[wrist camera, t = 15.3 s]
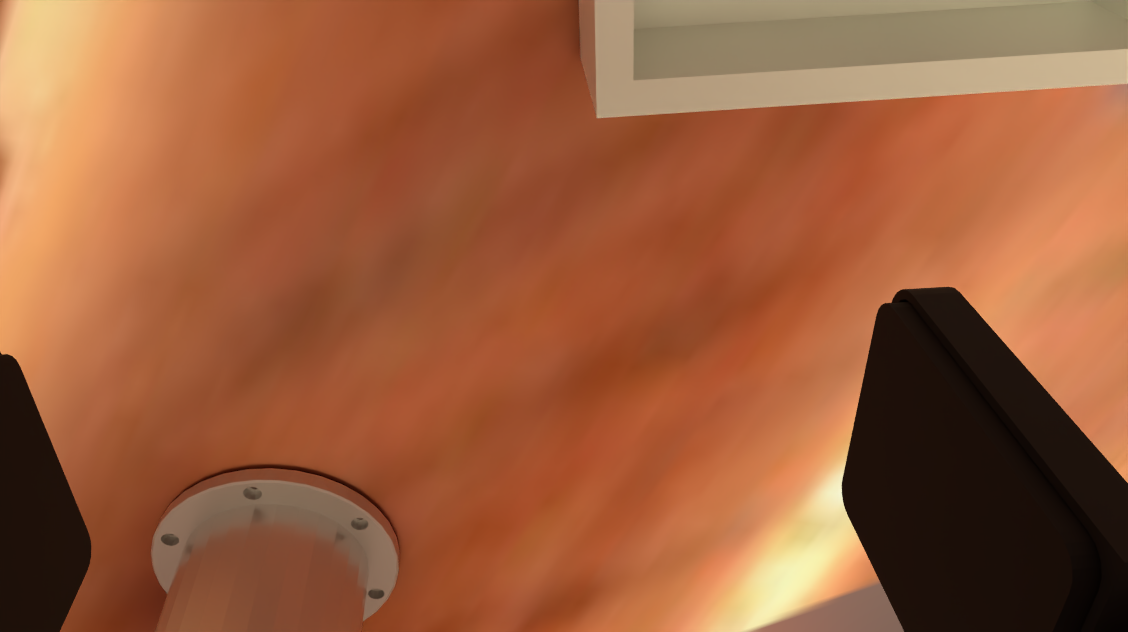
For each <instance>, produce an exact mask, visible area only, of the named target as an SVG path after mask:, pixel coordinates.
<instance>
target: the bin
mask: <svg viewBox="0 0 1128 632" xmlns="http://www.w3.org/2000/svg"><path fill="white" fill-rule="evenodd" d="M579 32H580V58H581V62H582V66H583V69H584V73H585V77H586V80H587V84H588V88H589V91H590V95H591V99H592V103H593V106H594V110H595V114H596V117H597V118H608V117H623V116H639V115H654V114H669V113H685V112H700V111H715V110H731V109H746V108H761V107H777V106H792V105H807V104H823V103H838V102H853V101H869V100H884V99H899V98H915V97H930V96H945V95H961V94H976V93H991V92H1007V91H1022V90H1037V89H1053V88H1068V87H1083V86H1099V85H1114V84H1128V0H579Z"/></svg>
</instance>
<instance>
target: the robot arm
mask: <svg viewBox="0 0 1128 632" xmlns="http://www.w3.org/2000/svg"><path fill="white" fill-rule="evenodd" d="M842 496H843V502H844V506H845V509H846V512H847V515H848V517H849V519H850V521H851V523H852V525H853V527H854V529H855V531H856V533H857V535H858V537H859V539H860V541H861V543H862V545H863V547H864V550H865V552H866V554H867V556H868V558H869V560H870V562H871V564H872V566H873V568H874V570H875V572H876V574H877V576H878V578H879V580H880V582H881V584H882V586H883V589H884V591H885V593H886V595H887V597H888V599H889V601H890V603H891V605H892V607H893V609H894V611H895V613H896V615H897V617H898V619H899V621H900V623H901V625H902V627H903V629H904V632H1128V483H1127V482H1126V481H1125V480H1124V478H1123V477H1122V476H1121V475H1120V474H1119V473H1118V472H1117V470H1116V469H1115V468H1114V467H1113V466H1112V465H1111V464H1110V463H1109V461H1108V460H1107V459H1106V458H1105V457H1104V456H1103V455H1102V453H1101V452H1100V451H1099V450H1098V449H1097V448H1096V447H1095V445H1094V444H1093V443H1092V442H1091V441H1090V440H1089V439H1088V438H1087V436H1086V435H1085V434H1084V433H1083V432H1082V431H1081V430H1080V428H1079V427H1078V426H1077V425H1076V424H1075V423H1074V422H1073V421H1072V419H1071V418H1070V417H1069V416H1068V415H1067V414H1066V413H1065V411H1064V410H1063V409H1062V408H1061V407H1060V406H1059V405H1058V403H1057V402H1056V401H1055V400H1054V399H1053V398H1052V397H1051V396H1050V394H1049V393H1048V392H1047V391H1046V390H1045V389H1044V388H1043V386H1042V385H1041V384H1040V383H1039V382H1038V381H1037V380H1036V378H1035V377H1034V376H1033V375H1032V374H1031V373H1030V372H1029V371H1028V369H1027V368H1026V367H1025V366H1024V365H1023V364H1022V363H1021V361H1020V360H1019V359H1018V358H1017V357H1016V356H1015V355H1014V353H1013V352H1012V351H1011V350H1010V349H1009V348H1008V347H1007V346H1006V344H1005V343H1004V342H1003V341H1002V340H1001V339H1000V338H999V336H998V335H997V334H996V333H995V332H994V331H993V330H992V329H991V327H990V326H989V325H988V324H987V323H986V322H985V321H984V319H983V318H982V317H981V316H980V315H979V314H978V313H977V311H976V310H975V309H974V308H973V307H972V306H971V305H970V304H969V302H968V301H967V300H966V299H965V298H964V297H963V296H962V294H961V293H960V292H959V291H957V290H956V289H955V288H952V287H938V288H921V289H903V290H900V291H899V292H897V293H896V295H895V296H894V298H893V300H892V303H885V304H883V305H881V307H880V308H879V310H878V313H877V316H876V321H875V325H874V330H873V335H872V340H871V345H870V350H869V354H868V359H867V364H866V369H865V374H864V379H863V383H862V388H861V393H860V398H859V403H858V408H857V412H856V417H855V422H854V427H853V432H852V436H851V441H850V446H849V451H848V456H847V461H846V465H845V470H844V475H843V481H842ZM399 556H400V551H399V546H398V541H397V537H396V535H395V533H394V531H393V529H392V527H391V525H390V523H389V521H388V520H387V519H386V518H385V517H384V515H383V514H382V513H381V512H380V511H379V509H378V508H377V507H376V506H374V505H373V504H372V503H371V502H369V501H368V500H367V499H366V498H364V497H363V496H362V495H360V494H359V493H357V492H355V491H353V490H352V489H350V488H348V487H346V486H344V485H343V484H340V483H338V482H335V481H332V480H330V479H327V478H324V477H322V476H318V475H314V474H310V473H305V472H301V471H296V470H286V469H274V468H265V469H245V470H240V471H235V472H230V473H224V474H221V475H218V476H215V477H213V478H210V479H207V480H204V481H202V482H200V483H198V484H196V485H195V486H193V487H191V488H189V489H188V490H186V491H184V492H183V493H182V494H181V495H180V496H179V497H177V498H176V499H175V500H174V501H173V502H172V503H171V504H170V505H169V506H168V508H167V509H166V511H165V512H164V514H163V515H162V517H161V519H160V521H159V524H158V526H157V529H156V531H155V534H154V536H153V541H152V547H151V560H152V567H153V570H154V573H155V575H156V577H157V579H158V582H159V584H160V585H161V587H162V588H163V589H164V590H165V592H166V593H167V597H166V600H165V603H164V606H163V609H162V612H161V615H160V618H159V621H158V623H157V626H156V629H155V632H362V624H363V621H365V620H366V619H367V618H369V617H370V616H371V615H373V614H374V613H376V612H377V611H378V610H379V609H380V608H381V607H382V605H383V604H384V603H385V602H386V601H387V600H388V598H389V597H390V595H391V593H392V591H393V589H394V587H395V585H396V581H397V576H398V572H399ZM90 558H91V540H90V536H89V533H88V530H87V528H86V525H85V523H84V521H83V518H82V516H81V513H80V511H79V508H78V506H77V504H76V501H75V499H74V496H73V494H72V491H71V489H70V487H69V484H68V482H67V479H66V477H65V474H64V472H63V470H62V467H61V465H60V462H59V460H58V457H57V455H56V453H55V450H54V448H53V445H52V443H51V440H50V438H49V436H48V433H47V431H46V428H45V426H44V423H43V421H42V419H41V416H40V414H39V411H38V409H37V406H36V404H35V402H34V399H33V397H32V394H31V392H30V389H29V387H28V385H27V382H26V380H25V377H24V375H23V372H22V370H21V368H20V366H19V364H18V362H17V360H16V359H15V358H14V357H13V356H10V355H7V354H4V355H2V354H1V353H0V632H60V630H61V627H62V625H63V623H64V621H65V619H66V616H67V614H68V612H69V610H70V607H71V605H72V603H73V601H74V599H75V596H76V594H77V592H78V590H79V588H80V585H81V583H82V581H83V579H84V577H85V574H86V572H87V570H88V567H89V564H90Z"/></svg>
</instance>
